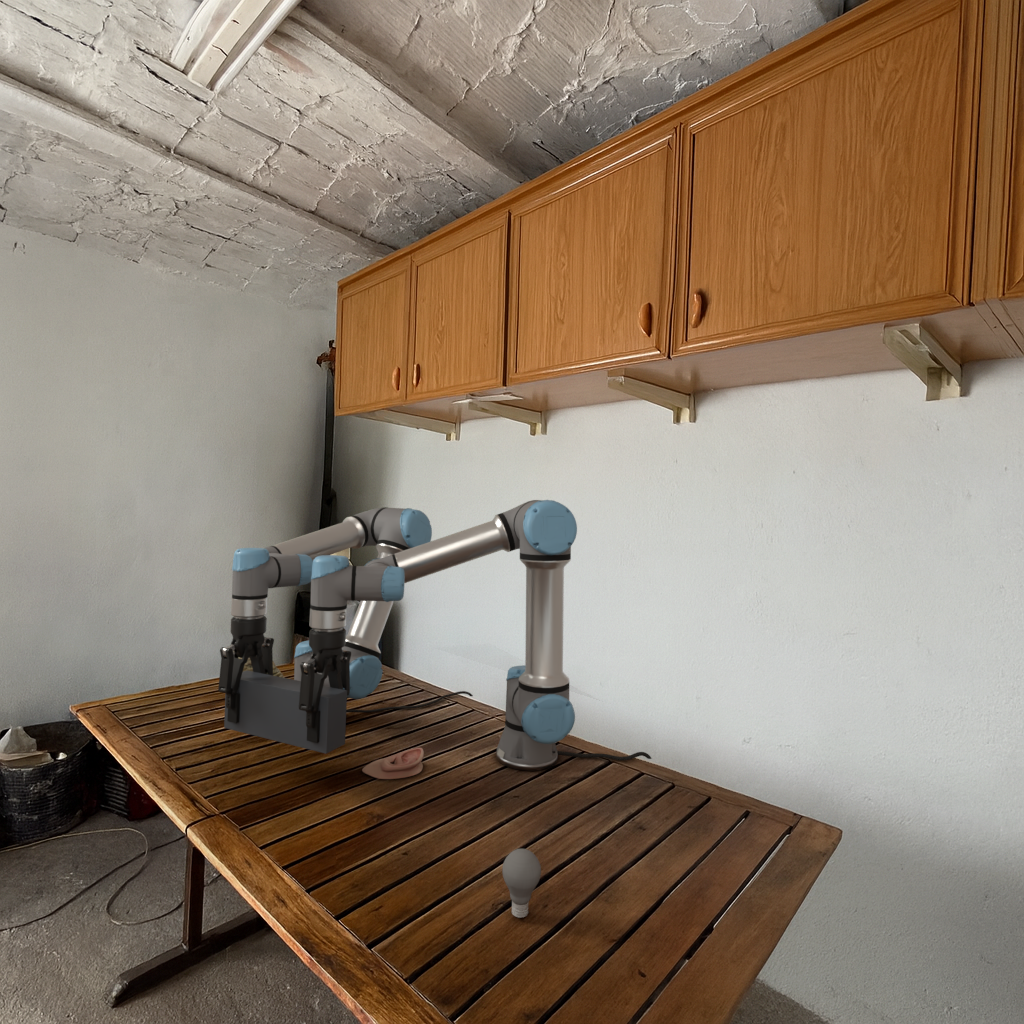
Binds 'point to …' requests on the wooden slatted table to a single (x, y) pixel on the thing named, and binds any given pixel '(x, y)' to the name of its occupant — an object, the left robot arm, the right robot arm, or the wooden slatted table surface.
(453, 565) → the right robot arm
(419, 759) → the anatomical model
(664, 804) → the wooden slatted table surface
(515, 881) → the light bulb
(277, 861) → the wooden slatted table surface
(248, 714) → the box
